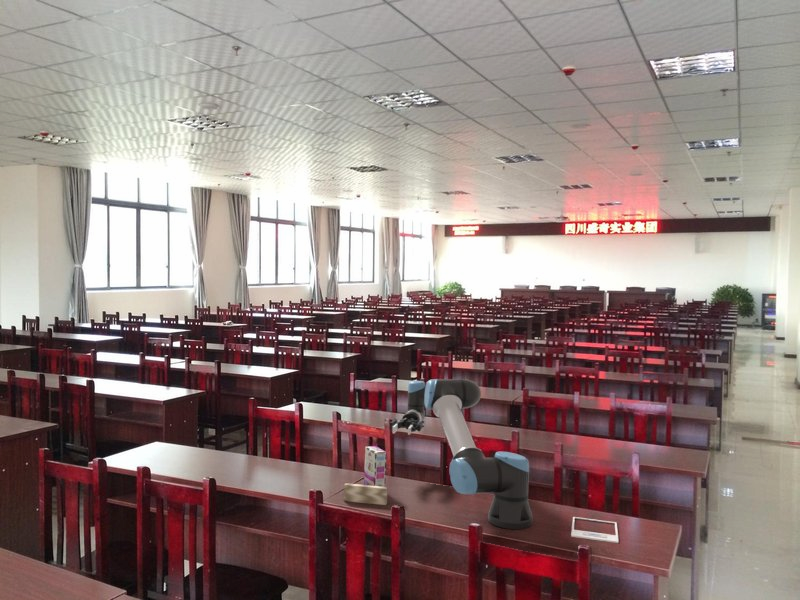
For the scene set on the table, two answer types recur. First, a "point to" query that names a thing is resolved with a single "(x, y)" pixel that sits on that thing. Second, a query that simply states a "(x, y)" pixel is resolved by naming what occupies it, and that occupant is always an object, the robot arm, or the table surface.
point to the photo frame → (592, 534)
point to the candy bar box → (375, 466)
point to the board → (365, 494)
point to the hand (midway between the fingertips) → (401, 430)
